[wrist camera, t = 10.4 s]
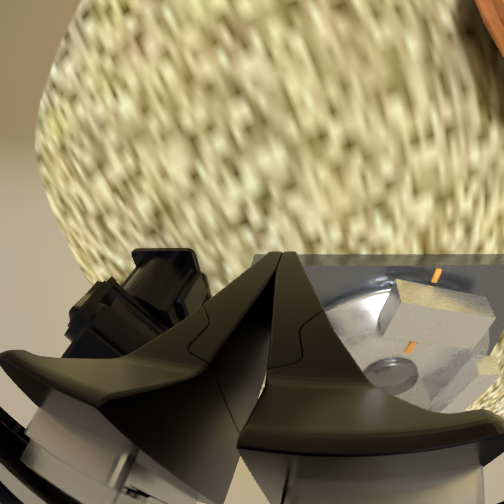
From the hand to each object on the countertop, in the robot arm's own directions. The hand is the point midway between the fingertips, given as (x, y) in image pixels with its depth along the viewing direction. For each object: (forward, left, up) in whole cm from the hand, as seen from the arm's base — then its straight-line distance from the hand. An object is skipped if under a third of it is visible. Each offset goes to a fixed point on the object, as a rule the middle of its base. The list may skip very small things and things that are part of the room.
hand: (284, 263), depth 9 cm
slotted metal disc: (+8, -20, -10) cm, 24 cm away
